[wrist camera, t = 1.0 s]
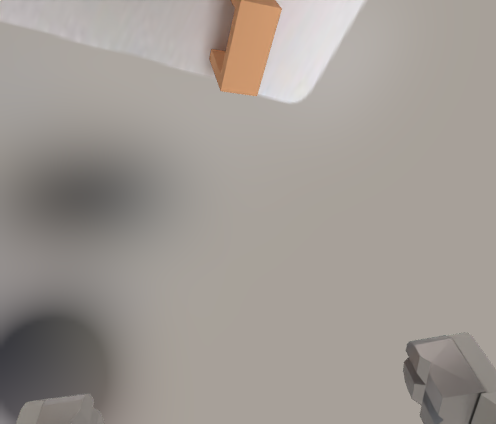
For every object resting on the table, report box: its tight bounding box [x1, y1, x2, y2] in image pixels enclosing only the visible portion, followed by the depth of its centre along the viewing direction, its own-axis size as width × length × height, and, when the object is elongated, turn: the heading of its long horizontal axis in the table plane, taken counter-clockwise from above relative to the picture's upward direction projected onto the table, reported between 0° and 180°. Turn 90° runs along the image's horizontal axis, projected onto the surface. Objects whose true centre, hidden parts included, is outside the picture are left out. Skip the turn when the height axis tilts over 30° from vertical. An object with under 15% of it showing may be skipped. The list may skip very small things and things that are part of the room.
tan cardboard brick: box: [209, 0, 282, 96], centre depth 45 cm, size 9×4×8 cm, turn 166°
